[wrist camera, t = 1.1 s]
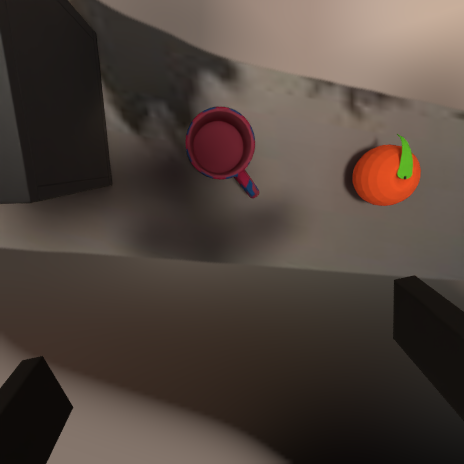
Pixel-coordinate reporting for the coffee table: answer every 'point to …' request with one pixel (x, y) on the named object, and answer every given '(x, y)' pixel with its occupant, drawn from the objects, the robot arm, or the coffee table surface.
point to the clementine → (387, 174)
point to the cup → (222, 146)
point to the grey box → (49, 103)
